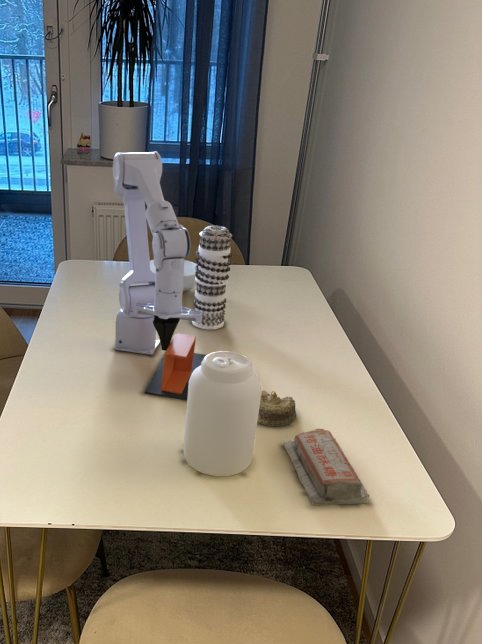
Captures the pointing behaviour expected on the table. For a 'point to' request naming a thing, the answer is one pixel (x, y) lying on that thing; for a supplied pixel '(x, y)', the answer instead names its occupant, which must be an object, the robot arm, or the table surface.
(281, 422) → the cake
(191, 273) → the cereal bowl
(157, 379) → the mat
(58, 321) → the table surface
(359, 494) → the packaged product
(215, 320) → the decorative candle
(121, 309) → the robot arm
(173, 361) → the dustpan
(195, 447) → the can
